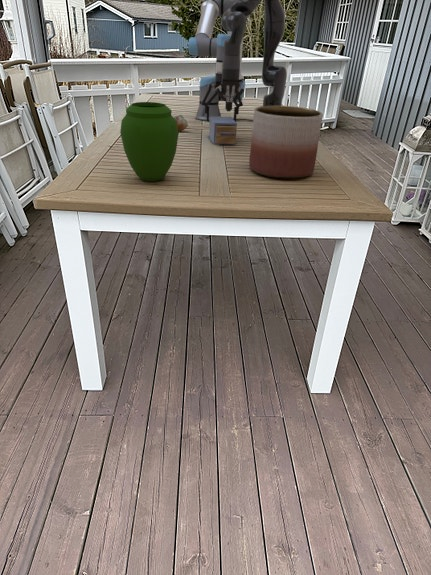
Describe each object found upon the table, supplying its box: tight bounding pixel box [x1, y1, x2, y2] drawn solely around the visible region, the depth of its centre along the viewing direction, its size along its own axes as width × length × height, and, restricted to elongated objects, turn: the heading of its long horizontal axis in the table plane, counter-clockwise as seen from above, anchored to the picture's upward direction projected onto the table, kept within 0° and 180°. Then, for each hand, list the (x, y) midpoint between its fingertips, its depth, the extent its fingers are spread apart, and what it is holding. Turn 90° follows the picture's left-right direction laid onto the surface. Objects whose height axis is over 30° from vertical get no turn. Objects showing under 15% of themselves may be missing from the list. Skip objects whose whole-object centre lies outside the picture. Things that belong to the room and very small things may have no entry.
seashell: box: [173, 114, 189, 132], centre depth 214 cm, size 10×6×8 cm, turn 97°
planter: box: [248, 105, 324, 180], centre depth 156 cm, size 25×25×22 cm
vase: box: [119, 101, 179, 182], centre depth 140 cm, size 20×20×24 cm
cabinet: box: [208, 116, 238, 145], centre depth 200 cm, size 16×11×10 cm
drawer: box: [215, 125, 238, 145], centre depth 195 cm, size 20×10×8 cm, turn 9°
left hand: (221, 121), depth 202 cm, fingers open, 13 cm apart
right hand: (228, 111), depth 183 cm, fingers closed
